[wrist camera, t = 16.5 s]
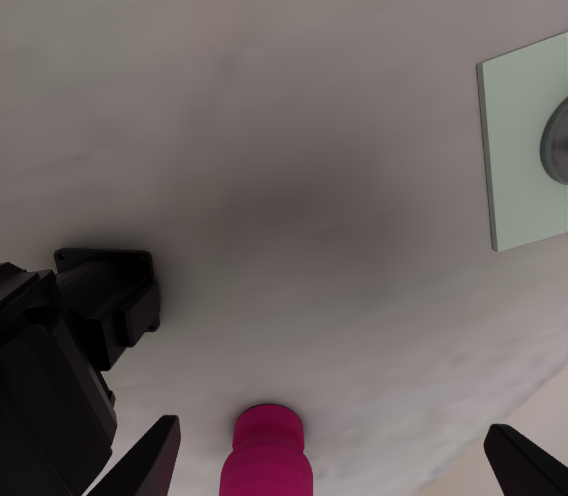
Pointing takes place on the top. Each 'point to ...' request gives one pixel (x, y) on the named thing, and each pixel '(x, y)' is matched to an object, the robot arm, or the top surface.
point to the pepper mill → (267, 456)
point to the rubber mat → (522, 141)
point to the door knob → (556, 144)
